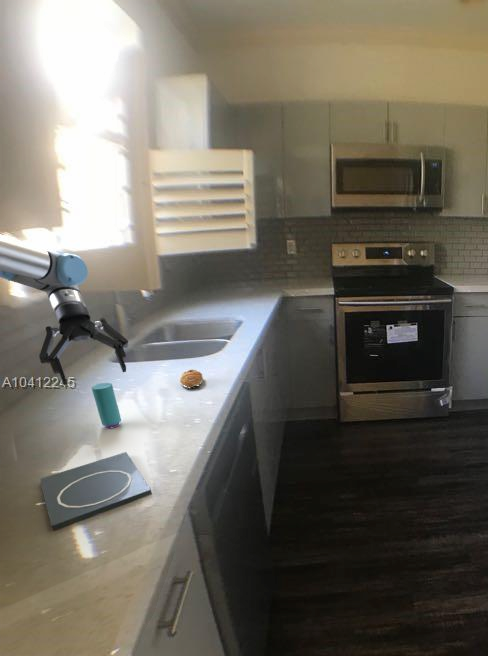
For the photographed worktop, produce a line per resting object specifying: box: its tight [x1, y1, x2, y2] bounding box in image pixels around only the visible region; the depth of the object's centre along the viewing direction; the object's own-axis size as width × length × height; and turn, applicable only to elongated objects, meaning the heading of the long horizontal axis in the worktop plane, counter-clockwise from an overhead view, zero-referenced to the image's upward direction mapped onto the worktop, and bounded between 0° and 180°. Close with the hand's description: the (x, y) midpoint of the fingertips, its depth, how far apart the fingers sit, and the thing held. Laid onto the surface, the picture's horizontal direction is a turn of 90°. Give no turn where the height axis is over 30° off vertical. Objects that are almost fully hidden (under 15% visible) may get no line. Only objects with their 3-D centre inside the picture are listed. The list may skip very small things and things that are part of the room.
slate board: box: [39, 451, 153, 531], centre depth 91 cm, size 20×16×1 cm
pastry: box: [179, 369, 204, 388], centre depth 143 cm, size 9×7×4 cm
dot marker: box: [91, 382, 122, 429], centre depth 116 cm, size 4×4×11 cm
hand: (95, 375), depth 119 cm, fingers open, 13 cm apart
